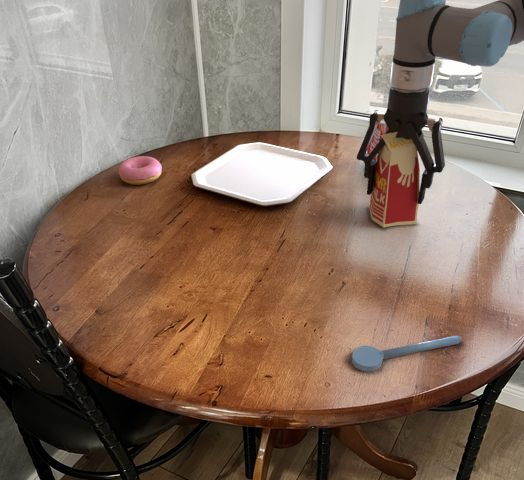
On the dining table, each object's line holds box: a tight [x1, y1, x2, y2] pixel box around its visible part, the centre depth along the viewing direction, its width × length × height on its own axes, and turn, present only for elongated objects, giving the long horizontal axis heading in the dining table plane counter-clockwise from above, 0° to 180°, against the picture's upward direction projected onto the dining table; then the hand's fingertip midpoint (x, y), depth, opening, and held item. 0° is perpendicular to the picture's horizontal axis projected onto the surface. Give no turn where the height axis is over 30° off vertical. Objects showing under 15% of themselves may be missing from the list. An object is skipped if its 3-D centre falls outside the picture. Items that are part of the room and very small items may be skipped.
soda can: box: [366, 120, 388, 161], centre depth 133 cm, size 7×7×12 cm
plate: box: [190, 141, 333, 207], centre depth 134 cm, size 29×29×2 cm
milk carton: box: [368, 132, 421, 228], centre depth 112 cm, size 9×9×20 cm
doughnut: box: [117, 155, 163, 186], centre depth 137 cm, size 11×11×4 cm
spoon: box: [351, 335, 462, 373], centre depth 87 cm, size 19×5×1 cm, turn 104°
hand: (395, 196), depth 116 cm, fingers closed on milk carton, 10 cm apart
